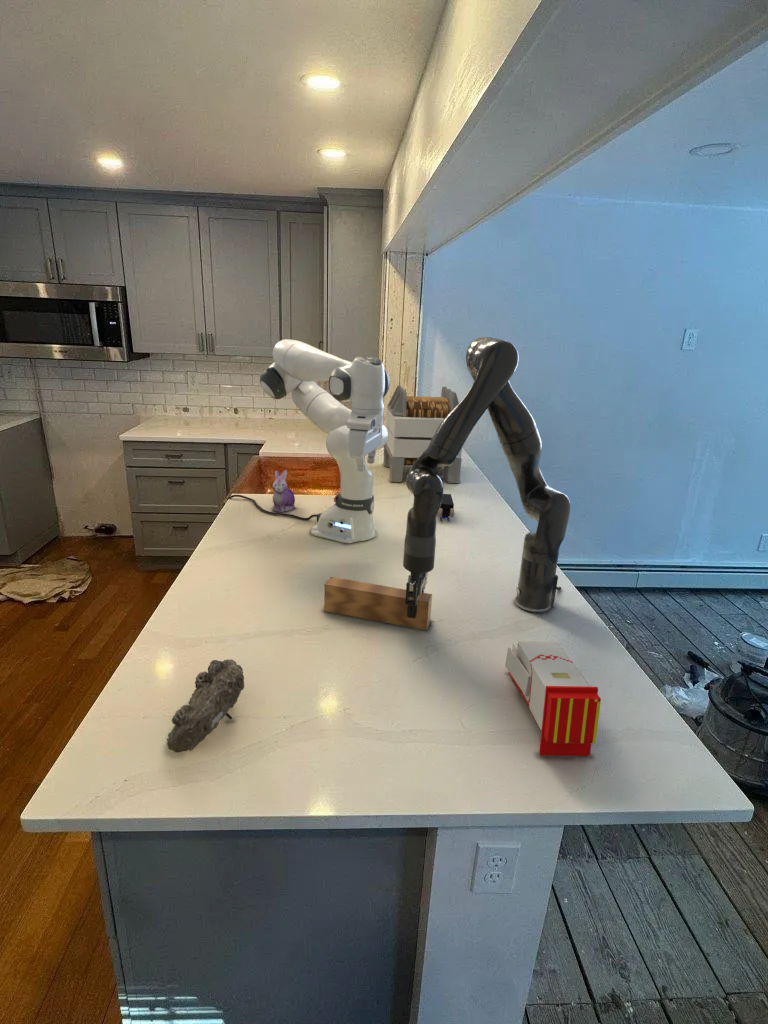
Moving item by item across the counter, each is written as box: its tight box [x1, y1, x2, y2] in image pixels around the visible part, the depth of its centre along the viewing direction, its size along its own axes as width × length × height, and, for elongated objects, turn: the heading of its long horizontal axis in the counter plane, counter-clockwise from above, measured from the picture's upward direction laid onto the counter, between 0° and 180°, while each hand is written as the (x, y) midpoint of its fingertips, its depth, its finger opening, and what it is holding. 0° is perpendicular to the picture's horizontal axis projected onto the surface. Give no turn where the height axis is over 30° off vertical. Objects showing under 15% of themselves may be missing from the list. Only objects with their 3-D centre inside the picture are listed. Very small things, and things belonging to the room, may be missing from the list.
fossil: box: [166, 658, 245, 754], centre depth 106 cm, size 22×10×15 cm
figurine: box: [272, 469, 296, 513], centre depth 217 cm, size 9×10×15 cm
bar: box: [323, 576, 433, 631], centre depth 145 cm, size 27×4×8 cm, turn 74°
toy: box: [505, 641, 602, 757], centre depth 113 cm, size 12×13×30 cm
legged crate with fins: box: [383, 384, 463, 484], centre depth 268 cm, size 34×33×41 cm
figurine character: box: [437, 493, 455, 522], centre depth 217 cm, size 7×8×15 cm
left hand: (366, 467), depth 159 cm, fingers open, 8 cm apart
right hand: (415, 609), depth 142 cm, fingers open, 7 cm apart
